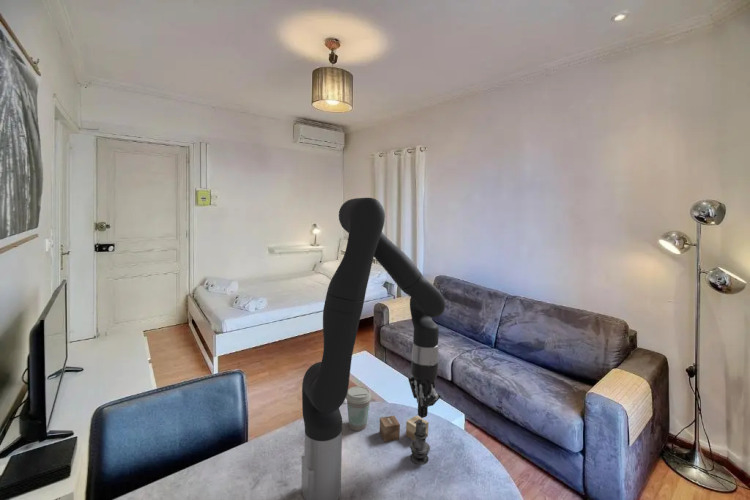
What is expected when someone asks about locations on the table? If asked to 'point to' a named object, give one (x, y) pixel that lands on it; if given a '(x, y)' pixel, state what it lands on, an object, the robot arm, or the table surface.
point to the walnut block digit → (389, 428)
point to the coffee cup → (358, 407)
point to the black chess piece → (420, 445)
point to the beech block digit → (414, 426)
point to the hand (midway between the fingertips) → (422, 416)
